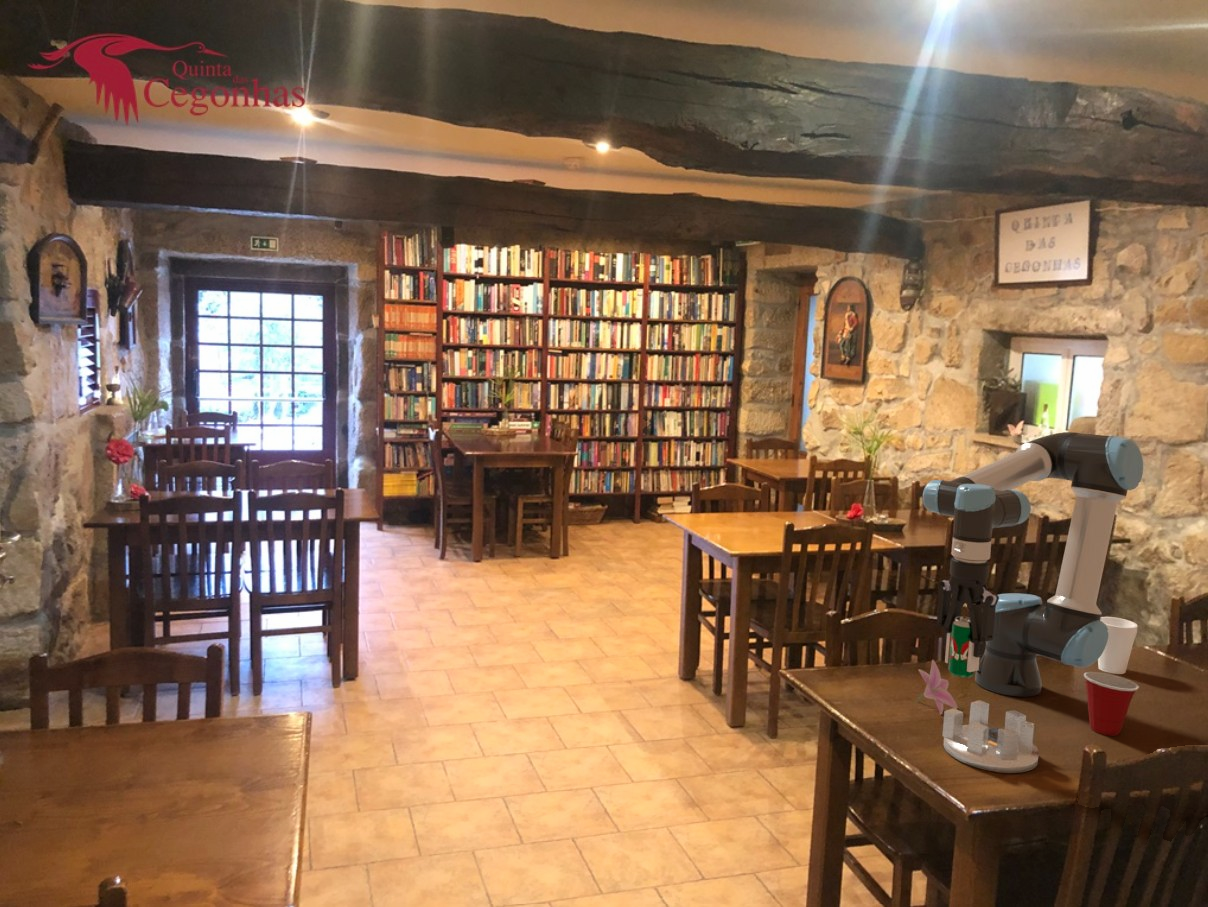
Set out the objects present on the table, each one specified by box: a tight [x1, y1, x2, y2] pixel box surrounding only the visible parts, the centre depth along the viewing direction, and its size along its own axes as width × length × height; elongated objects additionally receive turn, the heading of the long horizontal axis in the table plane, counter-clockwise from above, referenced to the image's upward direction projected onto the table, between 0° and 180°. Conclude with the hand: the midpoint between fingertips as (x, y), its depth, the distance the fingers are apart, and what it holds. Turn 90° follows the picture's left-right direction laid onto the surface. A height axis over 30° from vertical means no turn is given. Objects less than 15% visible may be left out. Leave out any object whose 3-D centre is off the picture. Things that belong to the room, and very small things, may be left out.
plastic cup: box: [1083, 671, 1140, 737], centre depth 202 cm, size 11×11×12 cm
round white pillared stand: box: [942, 699, 1039, 774], centre depth 188 cm, size 18×18×8 cm
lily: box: [916, 659, 958, 716], centre depth 212 cm, size 12×12×10 cm
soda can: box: [948, 615, 975, 679], centre depth 192 cm, size 5×5×12 cm
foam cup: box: [1097, 616, 1138, 675], centre depth 241 cm, size 10×9×13 cm
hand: (961, 666), depth 193 cm, fingers closed on soda can, 5 cm apart
